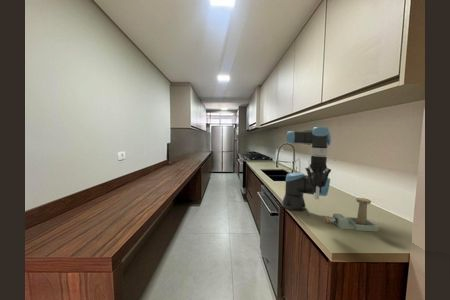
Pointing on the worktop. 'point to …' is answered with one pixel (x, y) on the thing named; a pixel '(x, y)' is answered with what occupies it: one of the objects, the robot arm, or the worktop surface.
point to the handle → (362, 210)
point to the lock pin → (330, 220)
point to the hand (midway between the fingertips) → (316, 198)
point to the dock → (353, 223)
